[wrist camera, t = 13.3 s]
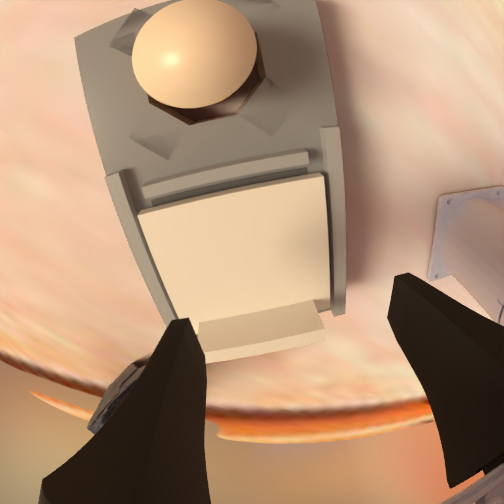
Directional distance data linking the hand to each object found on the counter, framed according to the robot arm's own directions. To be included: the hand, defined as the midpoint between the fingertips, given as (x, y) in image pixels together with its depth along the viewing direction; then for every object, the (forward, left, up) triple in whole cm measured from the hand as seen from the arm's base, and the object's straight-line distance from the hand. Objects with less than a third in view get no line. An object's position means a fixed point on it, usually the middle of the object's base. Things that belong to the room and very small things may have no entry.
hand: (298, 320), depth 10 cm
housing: (+2, -3, -10) cm, 10 cm away
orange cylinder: (+2, -9, -10) cm, 13 cm away
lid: (+2, +1, -7) cm, 7 cm away
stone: (+15, +12, -10) cm, 21 cm away
